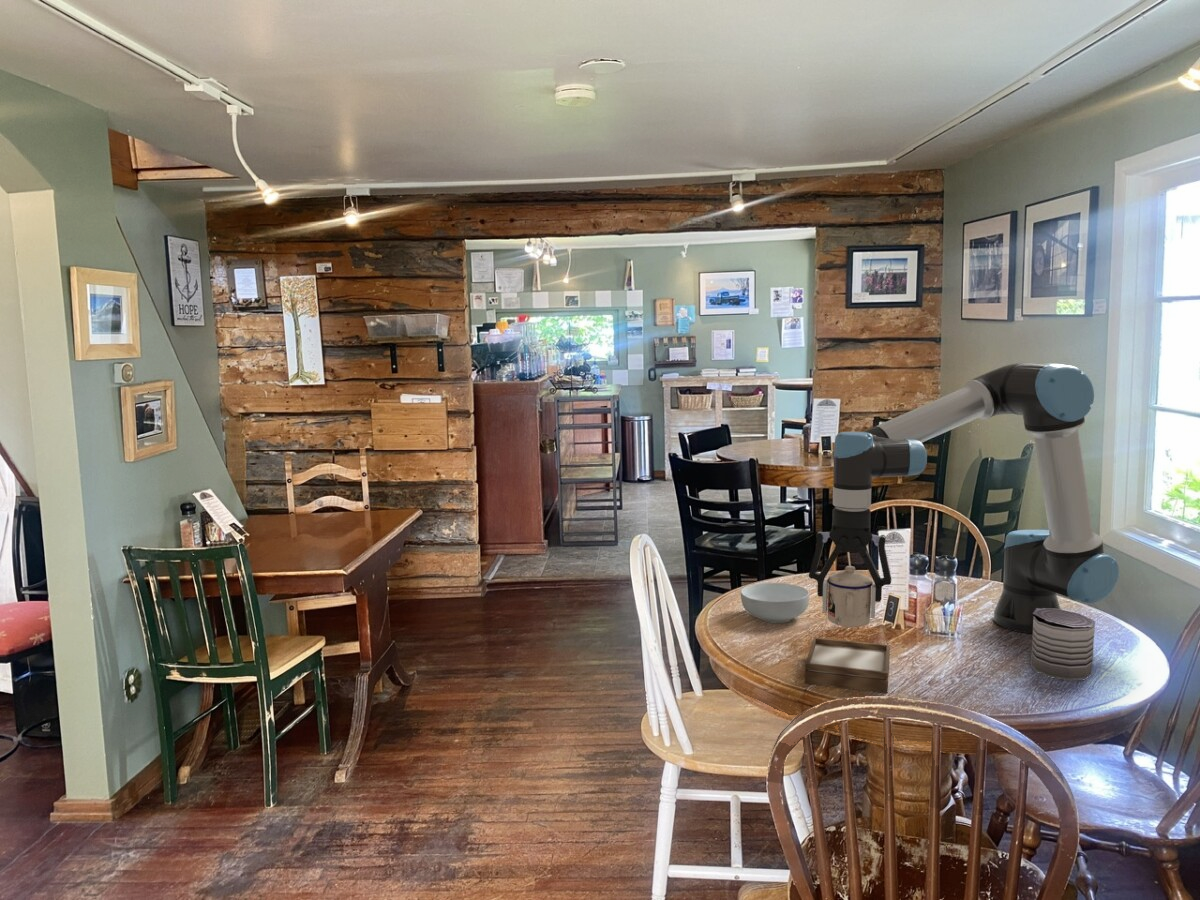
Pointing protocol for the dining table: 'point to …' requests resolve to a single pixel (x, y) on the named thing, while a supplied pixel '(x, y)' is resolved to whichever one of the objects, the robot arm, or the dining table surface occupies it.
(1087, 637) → the can
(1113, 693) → the dining table surface
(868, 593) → the teacup with lid
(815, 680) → the wooden box
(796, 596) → the cereal bowl
